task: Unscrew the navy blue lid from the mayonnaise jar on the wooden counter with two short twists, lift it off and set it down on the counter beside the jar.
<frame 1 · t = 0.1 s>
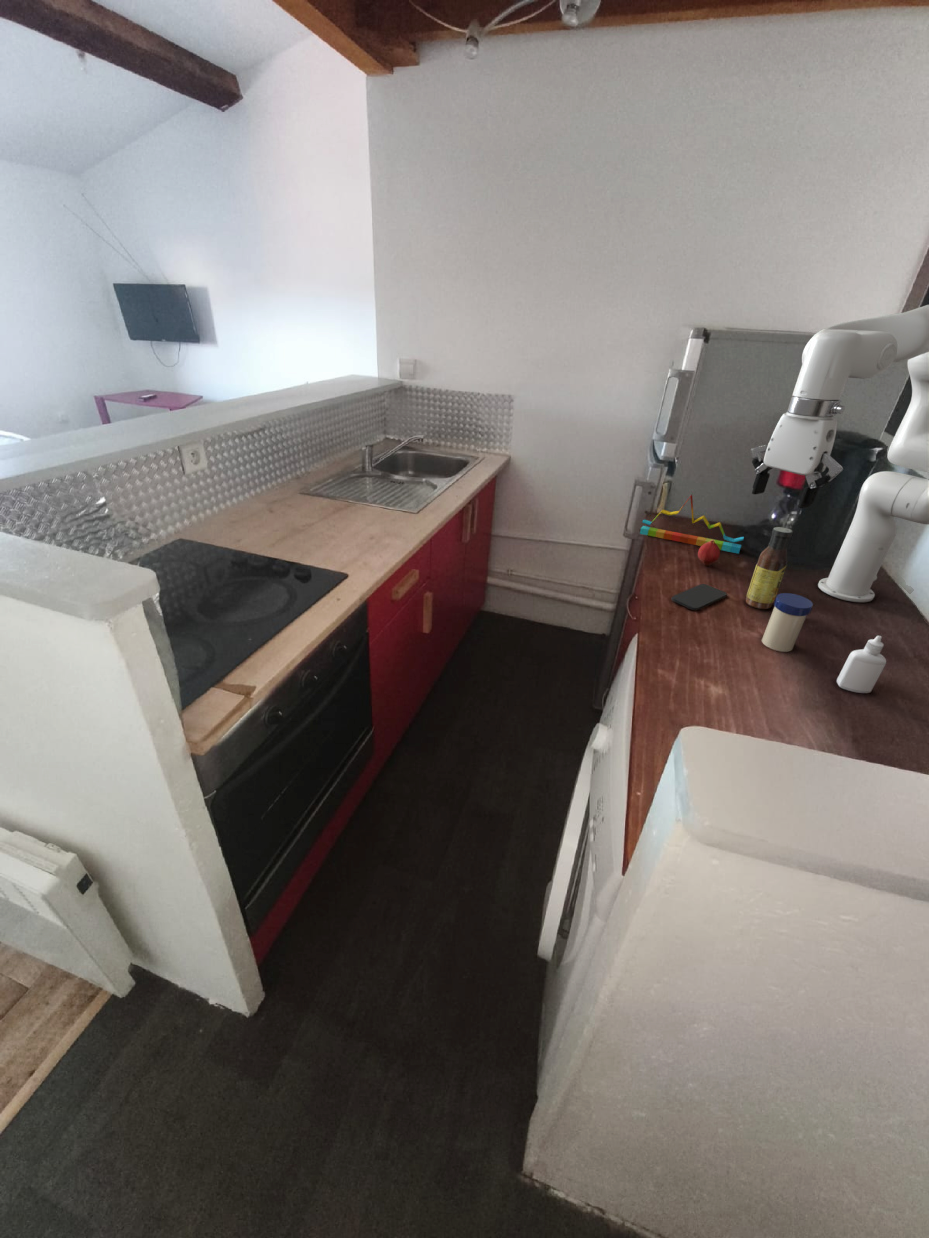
hand: (779, 500, 102), 31 cm above the countertop, tool pointing down, fingers open, 9 cm apart
mayonnaise jar: (777, 644, 114), on the countertop
eye dropper bottle: (852, 688, 101), on the countertop
sauce bottle: (757, 604, 130), on the countertop
chart: (687, 542, 165), on the countertop
phone: (698, 598, 131), on the countertop
jar lid: (794, 602, 108), point 11 cm above the countertop, screwed on, not yet turned
onion: (705, 565, 150), on the countertop
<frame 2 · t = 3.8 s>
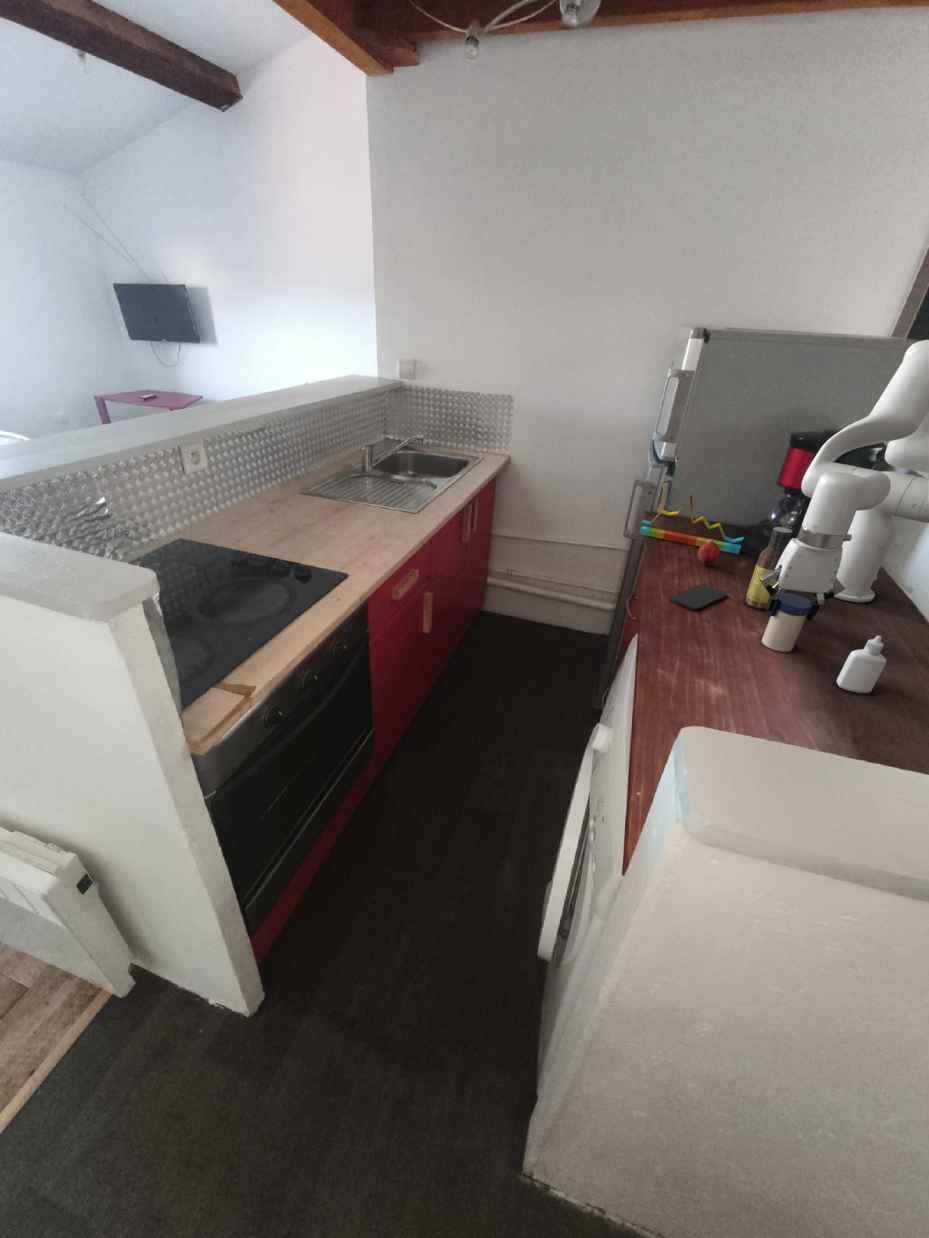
hand: (788, 614, 110), 8 cm above the countertop, tool pointing down, fingers closed on jar lid, 6 cm apart
jar lid: (794, 602, 108), point 11 cm above the countertop, screwed on, not yet turned, touching gripper
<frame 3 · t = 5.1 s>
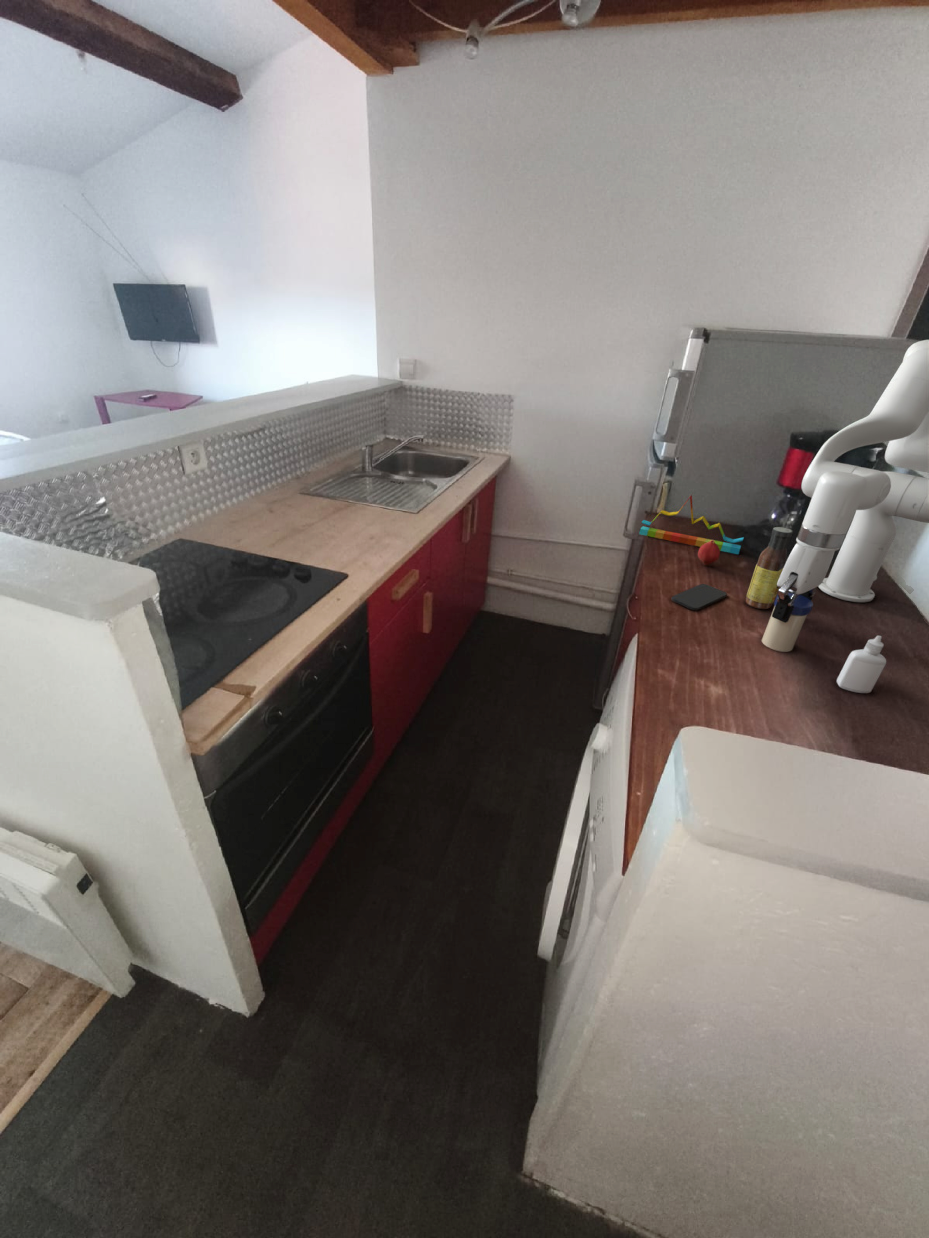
hand: (789, 614, 110), 8 cm above the countertop, tool pointing down, fingers closed on jar lid, 6 cm apart
jar lid: (794, 601, 108), point 11 cm above the countertop, turned 45° so far, risen 0.1 cm, still on its thread, touching gripper
everything else where it was.
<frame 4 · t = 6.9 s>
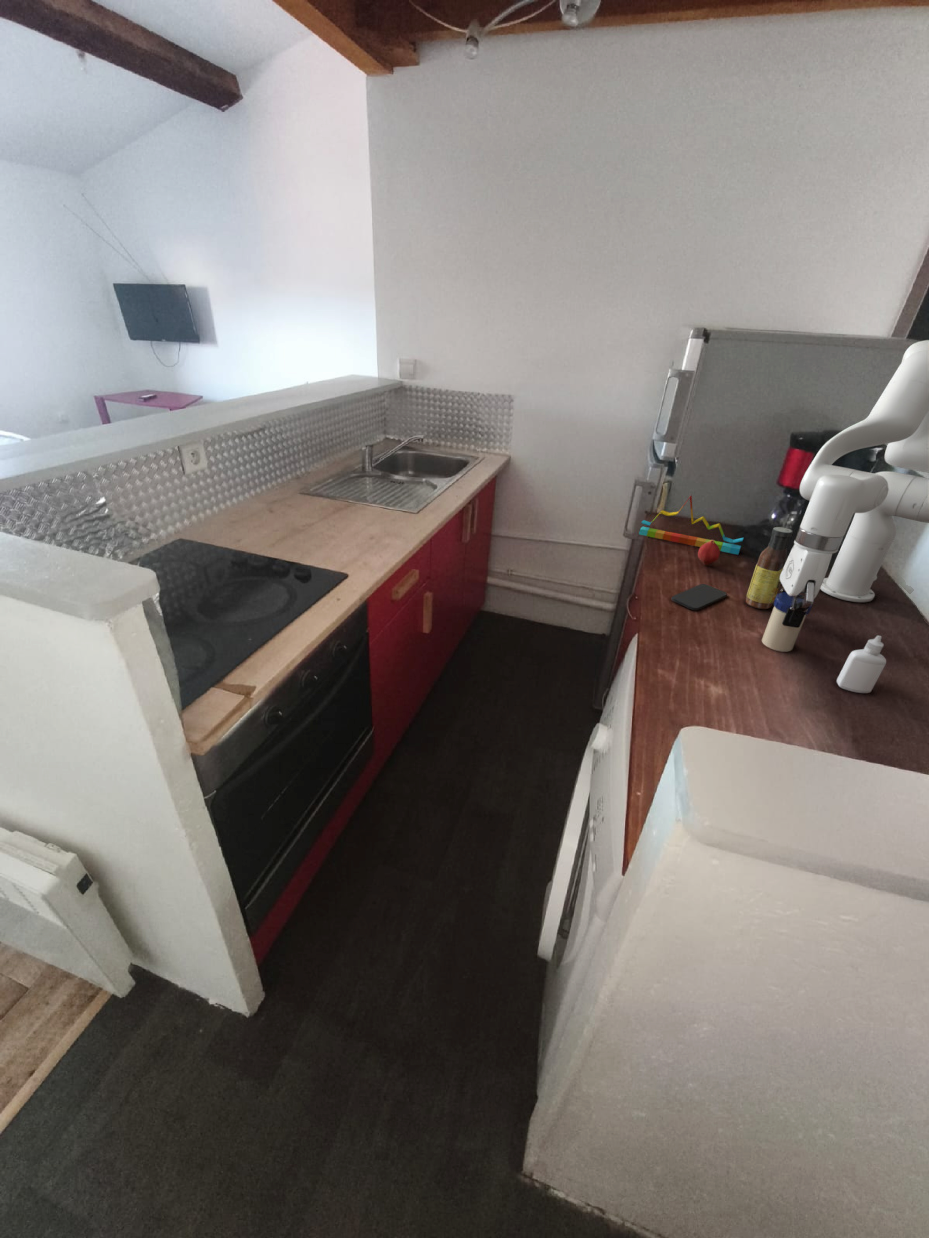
hand: (786, 617, 110), 7 cm above the countertop, tool pointing down, fingers closed on jar lid, 6 cm apart
mayonnaise jar: (777, 643, 113), on the countertop, touching gripper
jar lid: (793, 601, 108), point 11 cm above the countertop, turned 85° so far, risen 0.2 cm, still on its thread, touching gripper
everything else where it was.
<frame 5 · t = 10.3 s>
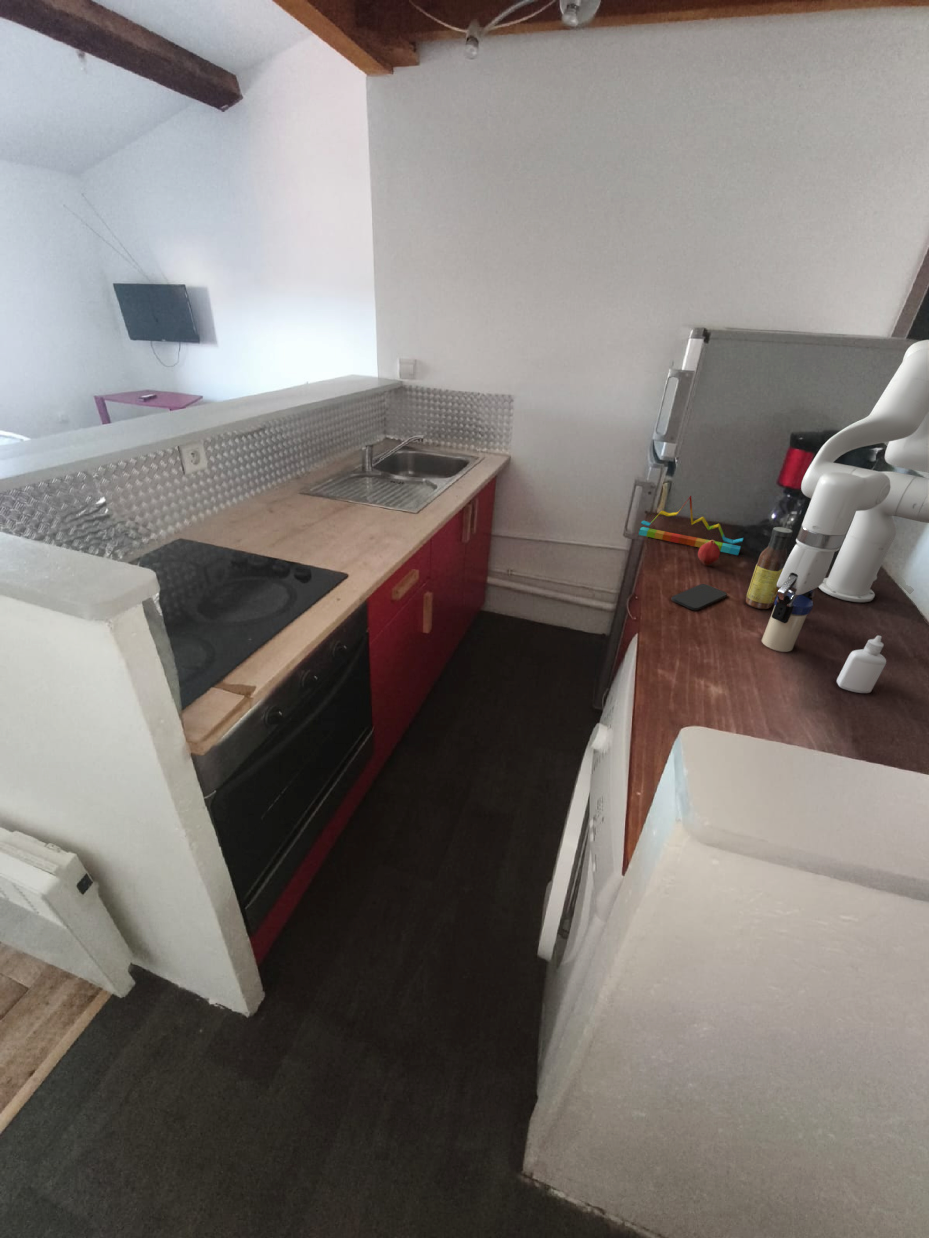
hand: (788, 615, 110), 7 cm above the countertop, tool pointing down, fingers closed on jar lid, 6 cm apart
mayonnaise jar: (777, 644, 114), on the countertop
jar lid: (794, 601, 108), point 11 cm above the countertop, off its thread, touching gripper
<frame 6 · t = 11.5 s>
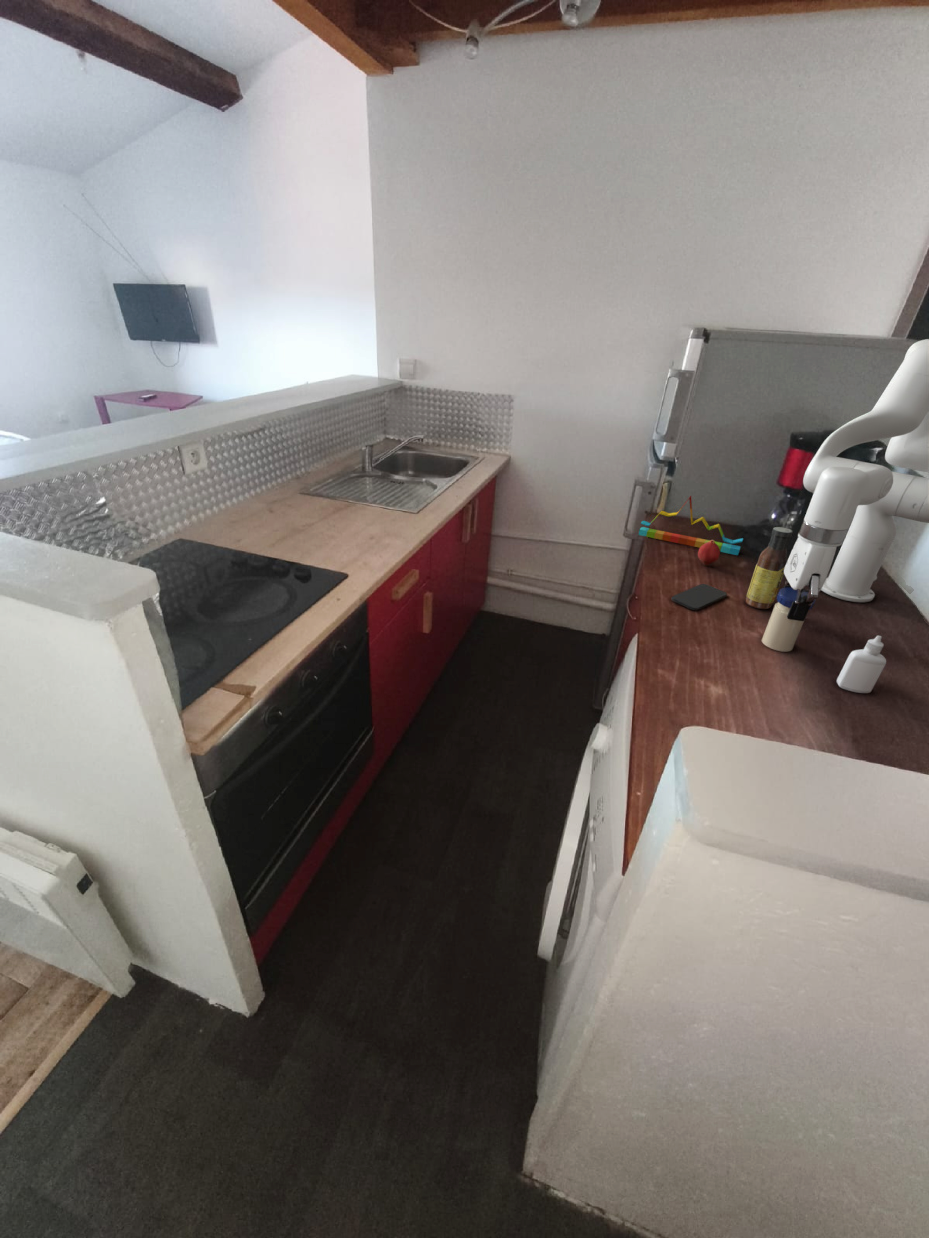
hand: (791, 610, 109), 9 cm above the countertop, tool pointing down, fingers closed on jar lid, 6 cm apart
mayonnaise jar: (777, 643, 113), on the countertop, touching gripper
jar lid: (796, 596, 108), point 12 cm above the countertop, off its thread, touching gripper
when the fingers open (1 cm above the countertop, at t = 19.4 s): jar lid drops 3 cm, point 1 cm above the countertop.
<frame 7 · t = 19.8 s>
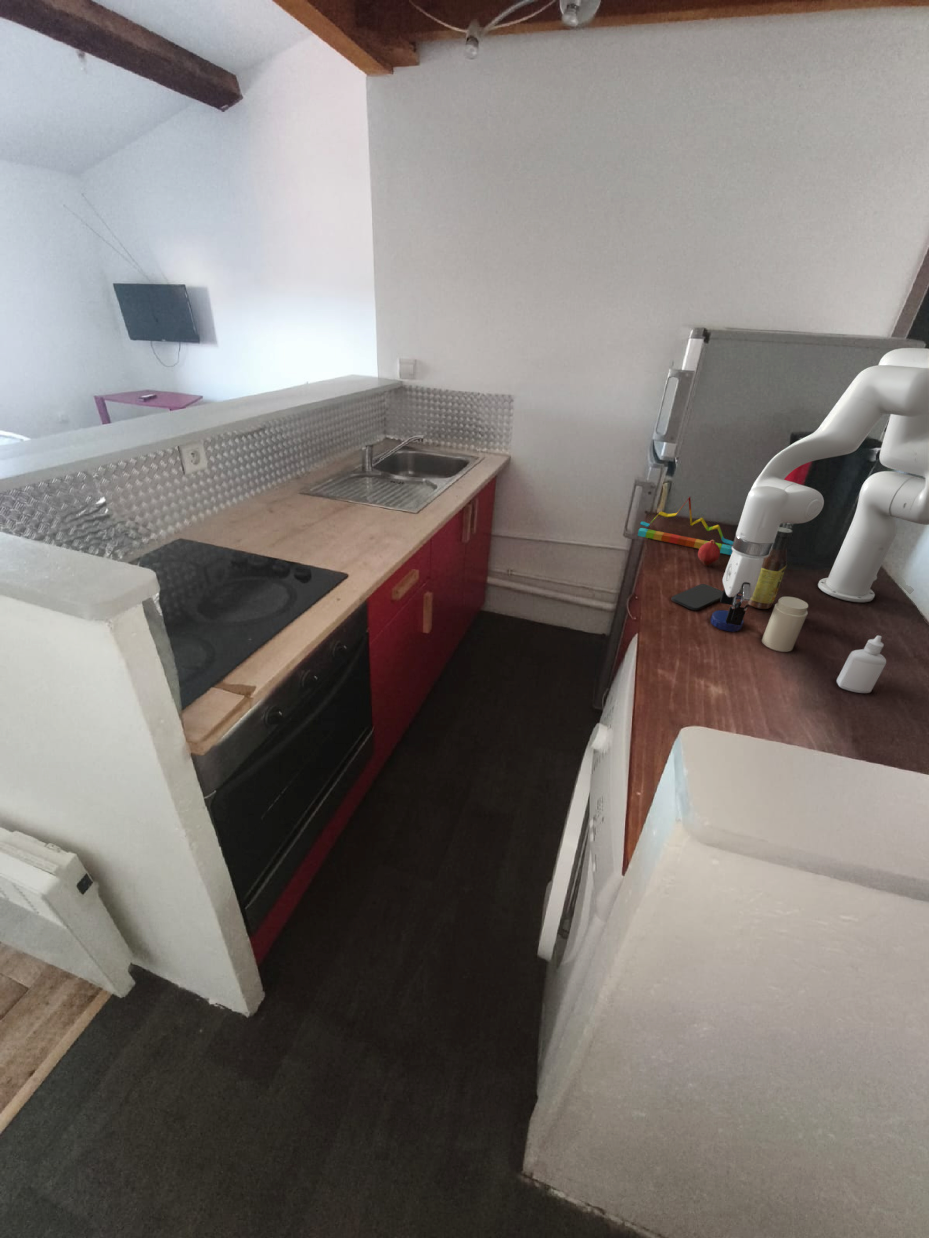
hand: (729, 613, 119), 3 cm above the countertop, tool pointing down, fingers open, 9 cm apart
mayonnaise jar: (777, 644, 114), on the countertop
chart: (686, 544, 164), on the countertop
jar lid: (727, 618, 120), point 1 cm above the countertop, off its thread
everything else where it was.
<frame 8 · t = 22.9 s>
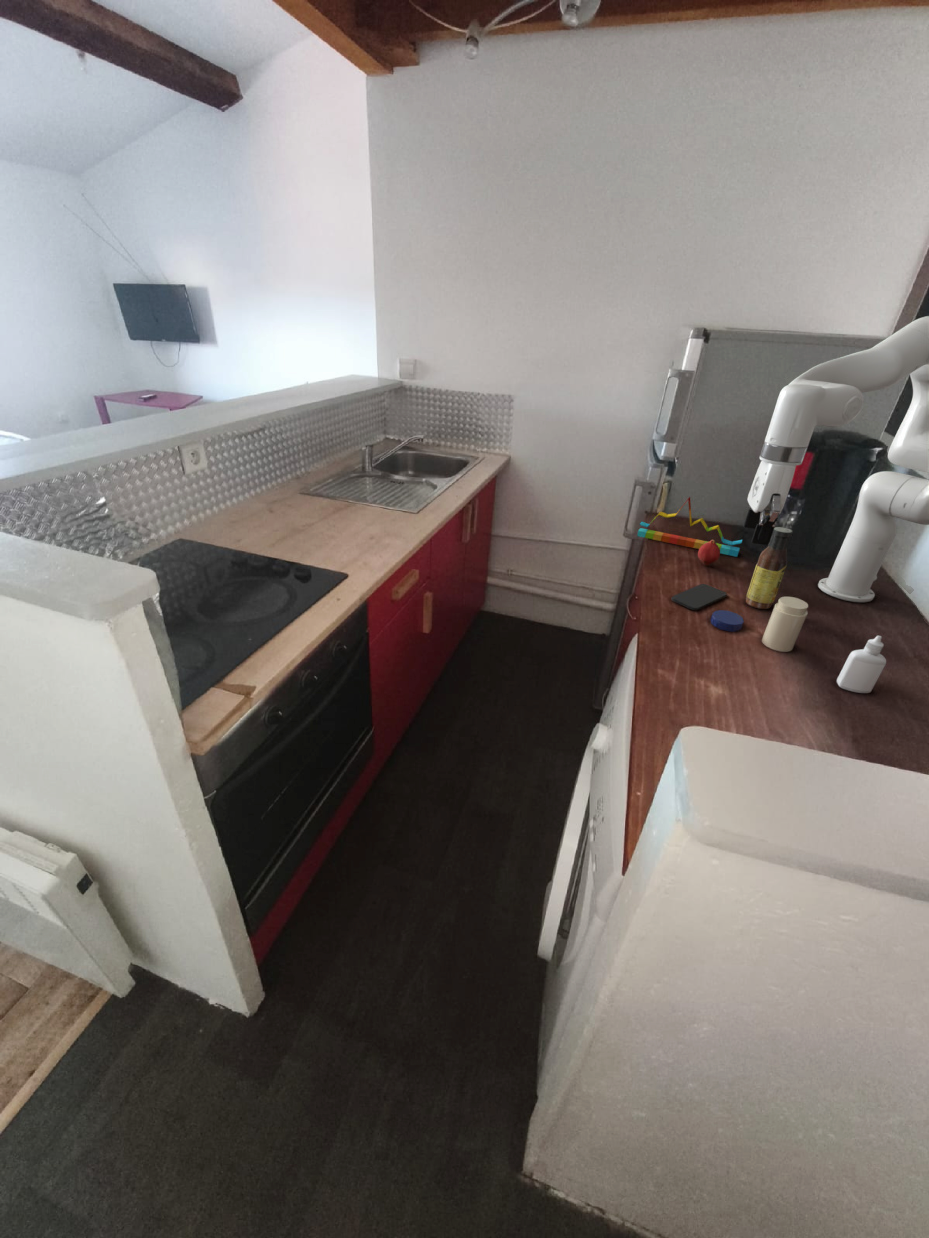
hand: (755, 535, 109), 22 cm above the countertop, tool pointing down, fingers open, 9 cm apart
at the end: jar lid came off its thread; jar lid point 1.5 cm above the countertop; the gripper is holding nothing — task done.
